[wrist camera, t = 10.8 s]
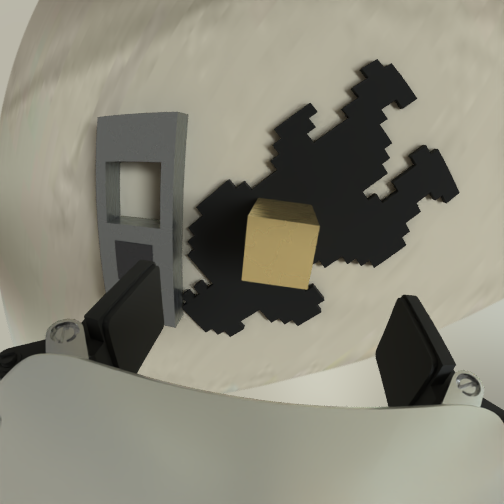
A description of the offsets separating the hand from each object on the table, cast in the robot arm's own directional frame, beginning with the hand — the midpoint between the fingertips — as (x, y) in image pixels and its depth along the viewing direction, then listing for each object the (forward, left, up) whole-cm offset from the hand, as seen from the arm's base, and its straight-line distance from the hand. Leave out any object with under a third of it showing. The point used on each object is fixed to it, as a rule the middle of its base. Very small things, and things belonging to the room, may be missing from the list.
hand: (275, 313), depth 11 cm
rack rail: (+2, -13, -15) cm, 20 cm away
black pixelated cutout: (0, +2, -16) cm, 16 cm away
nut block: (+1, 0, -15) cm, 15 cm away
